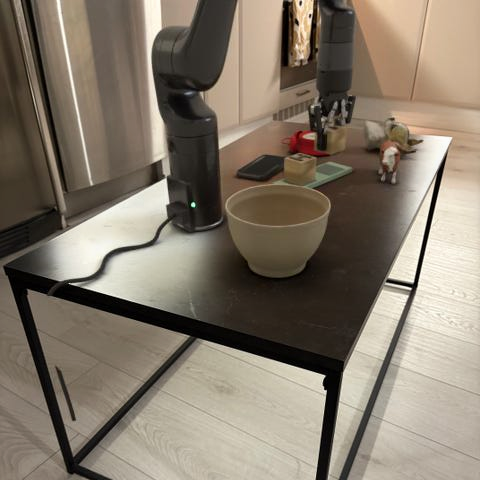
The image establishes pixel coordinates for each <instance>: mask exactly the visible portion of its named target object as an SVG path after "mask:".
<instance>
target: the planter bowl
mask: <svg viewBox="0 0 480 480" xmlns="http://www.w3.org/2000/svg"><path fill="white" fill-rule="evenodd" d="M331 204H332V203H331V201H330V199H329V197H327V196H326V195H325V194H323V193H322V192H320V191H318V190H316V189H314V188H307V187H302V186H297V185H289V184H272V183H270V184H269V183H268V184H261V185H255V186H254V185H253V186H250V187H247V188H243V189H241V190H239V191H237V192H235V193H234V194H232V195H231V196H229V197H228V198H227V200H226V201H225V206H224V207H225V214H226V217H227V225H228V229H229V232H230V233H229V234H230V235H231V239H232V241H233V243H234V245H235V247H236V248H237V251H239V253H240V255H242V257H243V258H244V259H245V260H246V261H247V265H248V267H249V269H250V270H251V271H252V272H254V273H255V274H258V275H259V276H263V277H266V278H275V279H276V278H277V279H278V278H280V279H281V278H289V277H292V276H295V275H297V274H299V273H301V272H302V271H303V270H304V269H305V268H306V265H307V262H308V261H309V260H310V258H312V256H313V255H314V254H315V253H316V251H317V249H318V248H319V246H320V244H321V243H322V241H323V238H324V235H325V233H326V230H327V225H328V219H329V215H330V212H331V207H332V206H331Z"/></svg>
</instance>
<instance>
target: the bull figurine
mask: <svg viewBox="0 0 480 480" xmlns="http://www.w3.org/2000/svg"><path fill="white" fill-rule="evenodd" d="M401 156H402V155H401V154H400V153H399V151H398V149H397V147H396V145H395V144H394V143H393V142H392V141H390V140H387V141H386V142H384V143H383V144H382V145H381V148H379V161H380V163H379V164H380V165H379V166H380V167H379V170H378V173H377V174H378V175H381V178H380V182H385V181H386V173H387V172H388V173H391V175H392V177H391V181H390V183H391V184H397V181H396V175H397V170H398V165H399V164H400V159H401Z"/></svg>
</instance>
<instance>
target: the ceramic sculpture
mask: <svg viewBox="0 0 480 480" xmlns="http://www.w3.org/2000/svg"><path fill="white" fill-rule="evenodd" d="M363 137H364V140H365V144H366V148H367V150H368V151H372V150H374V149H380V148H381V145H382V144H383V143H384V142H386V141H387V140H390V141H392V142H393V143H394V144H395V145H396V147H397V149H398V151H399V153H400V154H401V155H400V156H403V155H405V156H406V155H409V154H415V153H416V152H417V150H416V149H414V148H412V147H414V146H416V145H419V144H422V143H424V139H416V138H413V137H411V136H410V129H409V127H408V126H407V125H406V124H405V123H403V122H396V118H395V117H388V118H386V119H384V120H383V121H382V122H381V123H376V122H374V121H371V120H368V119H365V120H364V122H363Z"/></svg>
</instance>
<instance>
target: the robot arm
mask: <svg viewBox="0 0 480 480" xmlns="http://www.w3.org/2000/svg"><path fill="white" fill-rule="evenodd" d="M238 2H239V0H197V1H196V6H195V9H194V13H193V17H192V20H191V21H190V24H189V25H167V26H164V27H162V28H161V29H160V30H159V31H158V32H157V34H156V35H155V37H154V39H153V42H152V46H151V52H150V53H151V54H150V60H151V61H150V63H151V72H152V78H153V85H154V90H155V91H154V92H155V97H156V103H157V109H158V112H159V115H160V117H161V119H162V121H163V124H164V129H165V137H166V146H167V154H168V164H169V173H170V174H168V175H166V186H167V196H168V201H169V202H168V204H166V205H165V210H166V217H167V218H166V219H165V220H164V221H163V222H162V223H161V224H160V225H159V226H158V228H157V229H156V232H155V235H154V237H153V238H152V239H151V240H149V241H147V242H145V243H141V244H136V245H127V246H119V247H117V248H113V249H112V250H110V251H108V252H107V253H106V254H105V255H104V257H103V259H102V260H101V264H100V267H99V268H98V270H96V271H95V272H94V273H92V274H91V275H88V276H83V277H75V278H68V279H64V280H61V281H58V282H57V283H55V284H53V286H52V287H51V288H50V289H49V290H48V292H47V293H46V296H47V297H51V296H53V295H54V293H55V292H56V291H57V290H58V289H59V288H61V287H63V286H65V285H66V286H67V285H69V283H70V284H78V283H86V282H90V281H93V280H95V279H97V278H98V277H99V276H100V275H102V273H103V272H104V270H105V268H106V265H107V263H108V261H109V259H110V258H111V257H112V256H114V255H115V254H118V253H120V252H125V251H133V250H134V251H135V250H139V249H145V248H148V247H150V246H152V245H153V244H156V242H157V241H158V240H159V238H160V236H161V233H162V230H163V229H164V228H165V227H166V226H167V225H168V224H170V222H171V225H174V226H176V227H178V228H180V229H182V230H184V231H186V232H188V233H193V232H199V231H207V230H212V229H214V228H217V227H219V226H220V225H221V224H222V223H223V221H224V214H223V199H222V198H223V197H222V182H221V181H222V180H221V179H222V178H221V162H220V160H221V159H220V143H219V142H220V140H219V124H218V123H219V121H218V115H217V113H216V112H215V110H214V109H212V107H210V106H209V105H208V104H207V103H206V101H205V99H204V98H203V97H202V95H201V93H204V92H205V93H206V92H208V91H210V90H211V89H213V88H214V87H215V86H216V85H217V84H218V82H219V80H220V78H221V77H222V73H223V71H224V68H225V64H226V60H227V56H228V51H229V46H230V41H231V36H232V30H233V25H234V21H235V15H236V11H237V7H238ZM317 6H318V12H319V16H320V24H319V41H318V43H319V44H318V50H317V59H316V79H315V89H316V90H317V91H318V98H317V100H316V103H314V104H311V103H309V104H308V106H307V113H308V122H309V131H312V132H316V133H317V145H316V146H317V149H318V150H319V151H326V147H327V131H328V127H329V124H335V125H339V126H344V127H347V125H350V123H351V122H352V118H353V114H354V109H355V108H354V107H355V105H356V100H357V97H356V95H354V94H349V93H348V92H349V91H350V90H351V89H352V87H353V85H352V84H353V73H354V62H355V38H356V37H355V35H356V26H357V13H356V10H355V9H354V8H353V7H351V6H349V5H348V4H346V3H345V0H317ZM323 123H324V124H323ZM323 125H324V127H323V128H322V126H323ZM54 368H55V371H56V374H57V375H56V376H57V378H58V381H59V384H60V386H61V390H62V393H63V395H64V398H65V402H66V405H67V408H68V412H69V415H70V419H71V421H72V422H76V421H77V417H76V414H75V410H74V406H73V404H72V400H71V397H70V394H69V390H68V388H67V385H66V382H65V379H64V376H63V375H64V374H63V372H62V370H61V369H60V368H59V367H58V366H57V365H56V364H54Z"/></svg>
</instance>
